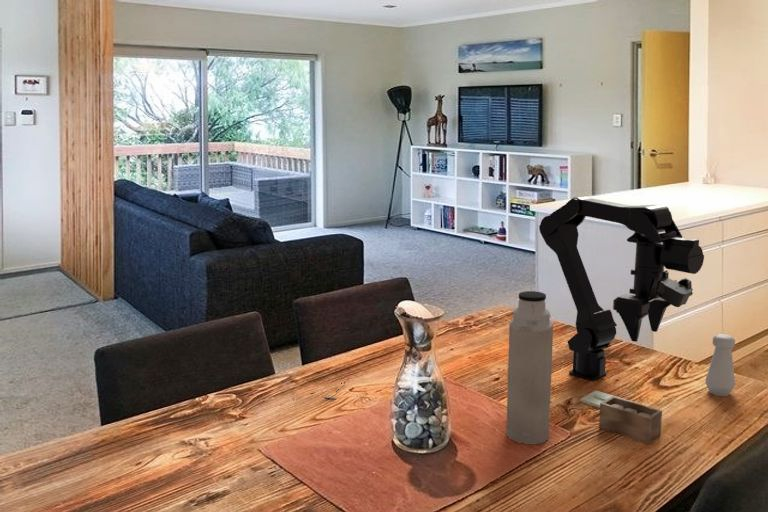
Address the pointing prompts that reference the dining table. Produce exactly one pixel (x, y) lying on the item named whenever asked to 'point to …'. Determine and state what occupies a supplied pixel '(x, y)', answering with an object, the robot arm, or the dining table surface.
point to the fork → (329, 397)
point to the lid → (596, 398)
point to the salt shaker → (721, 366)
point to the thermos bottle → (529, 370)
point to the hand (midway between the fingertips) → (644, 336)
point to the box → (630, 419)
